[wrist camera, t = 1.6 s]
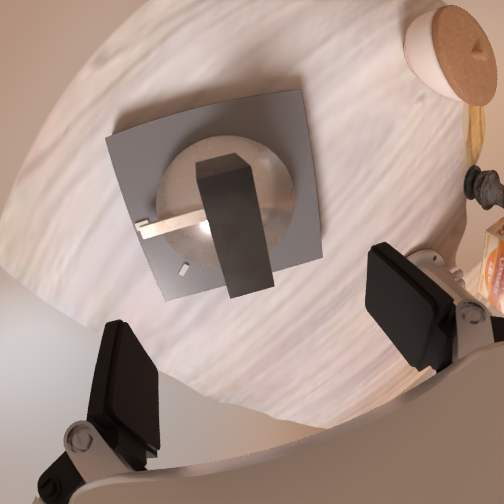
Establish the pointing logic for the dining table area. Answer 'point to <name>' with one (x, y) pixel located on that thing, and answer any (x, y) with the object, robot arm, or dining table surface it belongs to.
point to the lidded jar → (452, 55)
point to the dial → (226, 209)
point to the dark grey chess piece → (484, 187)
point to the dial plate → (199, 127)
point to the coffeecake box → (493, 266)
